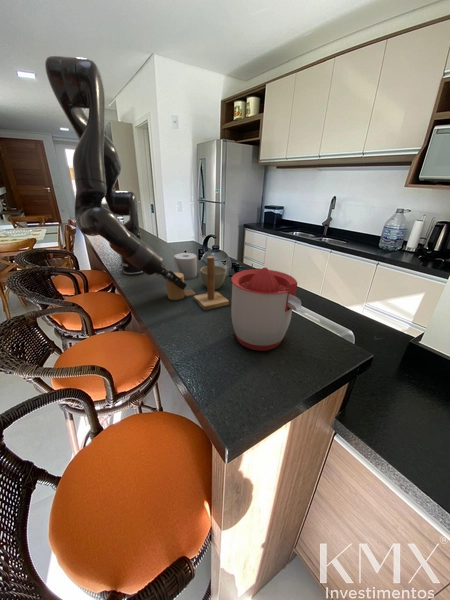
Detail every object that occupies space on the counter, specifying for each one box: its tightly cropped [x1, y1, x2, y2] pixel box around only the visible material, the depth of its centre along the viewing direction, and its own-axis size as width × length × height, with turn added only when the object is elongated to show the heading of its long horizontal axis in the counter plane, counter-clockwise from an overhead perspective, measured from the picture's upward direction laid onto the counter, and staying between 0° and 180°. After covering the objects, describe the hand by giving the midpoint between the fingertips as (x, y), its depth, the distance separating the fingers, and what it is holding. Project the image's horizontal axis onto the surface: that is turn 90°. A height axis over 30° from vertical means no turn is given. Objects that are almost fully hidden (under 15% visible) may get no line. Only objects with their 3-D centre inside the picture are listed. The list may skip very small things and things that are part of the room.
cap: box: [165, 271, 198, 301], centre depth 88 cm, size 10×6×8 cm, turn 119°
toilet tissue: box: [173, 252, 198, 280], centre depth 105 cm, size 9×13×9 cm
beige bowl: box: [200, 265, 228, 290], centre depth 96 cm, size 10×10×7 cm
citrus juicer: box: [230, 267, 302, 352], centre depth 62 cm, size 16×17×20 cm
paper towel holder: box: [193, 255, 230, 311], centre depth 82 cm, size 9×9×16 cm
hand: (179, 284), depth 88 cm, fingers closed on cap, 6 cm apart
